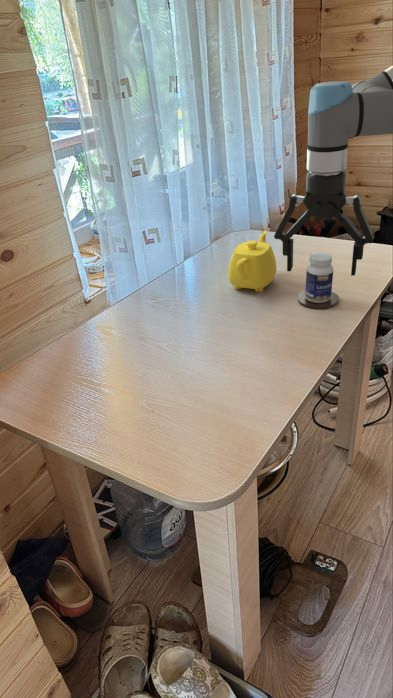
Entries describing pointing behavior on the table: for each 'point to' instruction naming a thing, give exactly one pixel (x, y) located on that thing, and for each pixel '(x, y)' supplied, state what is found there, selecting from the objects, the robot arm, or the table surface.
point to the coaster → (312, 305)
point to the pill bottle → (319, 278)
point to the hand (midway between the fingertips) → (321, 271)
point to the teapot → (252, 265)
